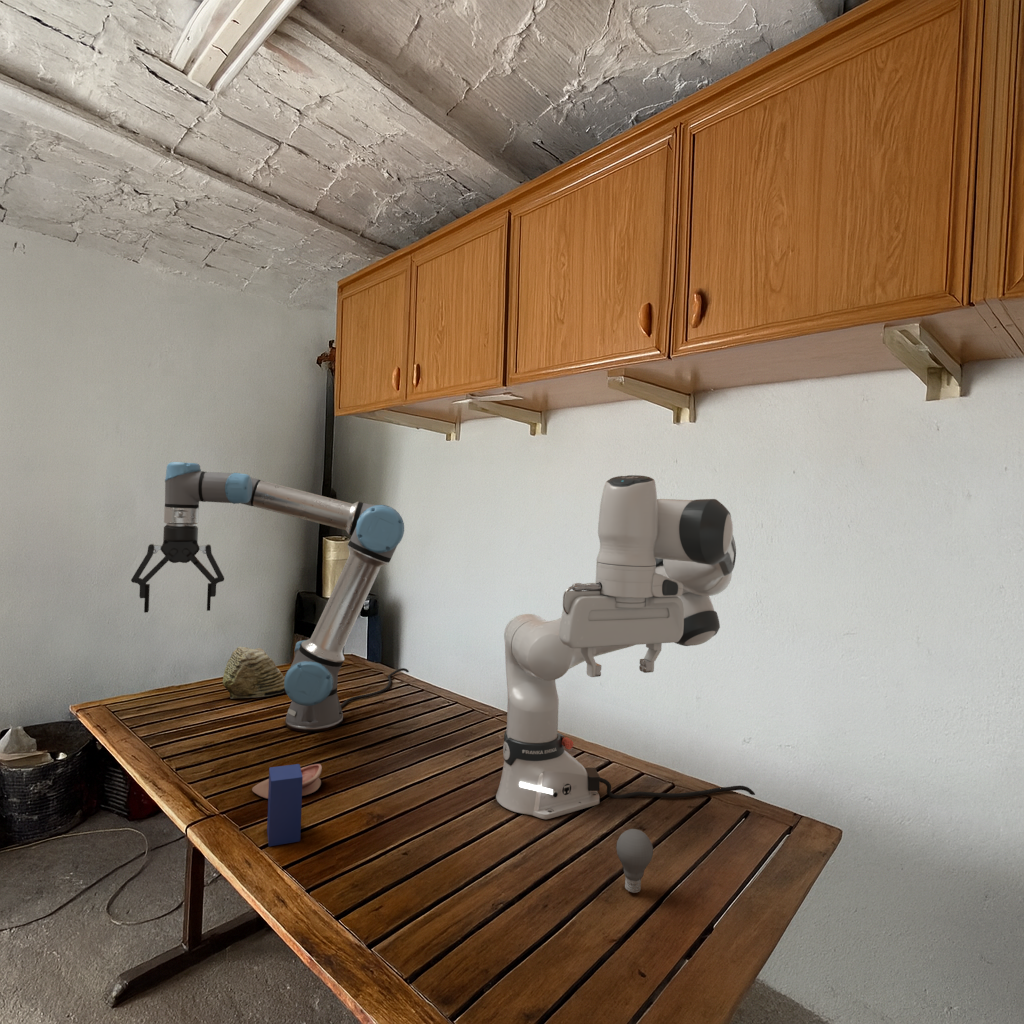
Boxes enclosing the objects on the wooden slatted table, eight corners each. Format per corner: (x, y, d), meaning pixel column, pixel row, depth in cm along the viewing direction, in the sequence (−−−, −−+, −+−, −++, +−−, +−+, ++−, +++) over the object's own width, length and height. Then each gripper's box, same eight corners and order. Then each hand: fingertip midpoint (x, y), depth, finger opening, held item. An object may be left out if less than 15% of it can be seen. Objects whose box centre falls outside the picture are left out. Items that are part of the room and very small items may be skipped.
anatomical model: (244, 776, 132) (275, 755, 144) (243, 795, 132) (274, 772, 144) (301, 785, 130) (329, 762, 141) (301, 804, 130) (328, 780, 141)
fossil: (218, 695, 195) (220, 647, 195) (278, 685, 208) (279, 640, 207) (228, 703, 189) (230, 653, 188) (289, 692, 201) (290, 645, 201)
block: (268, 846, 114) (270, 781, 114) (267, 830, 120) (269, 767, 120) (300, 841, 116) (302, 776, 116) (297, 825, 122) (299, 763, 122)
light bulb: (610, 879, 108) (613, 822, 108) (644, 879, 109) (647, 822, 109) (619, 902, 102) (622, 840, 102) (655, 901, 103) (658, 840, 103)
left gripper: (120, 524, 148) (117, 615, 148) (236, 527, 158) (233, 611, 159) (124, 522, 154) (121, 609, 155) (235, 525, 165) (232, 606, 165)
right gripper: (574, 586, 88) (570, 684, 89) (692, 584, 97) (687, 674, 97) (554, 580, 94) (549, 672, 94) (666, 579, 102) (662, 664, 103)
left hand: (178, 610), depth 157 cm, fingers open, 13 cm apart
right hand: (620, 673), depth 96 cm, fingers open, 8 cm apart
